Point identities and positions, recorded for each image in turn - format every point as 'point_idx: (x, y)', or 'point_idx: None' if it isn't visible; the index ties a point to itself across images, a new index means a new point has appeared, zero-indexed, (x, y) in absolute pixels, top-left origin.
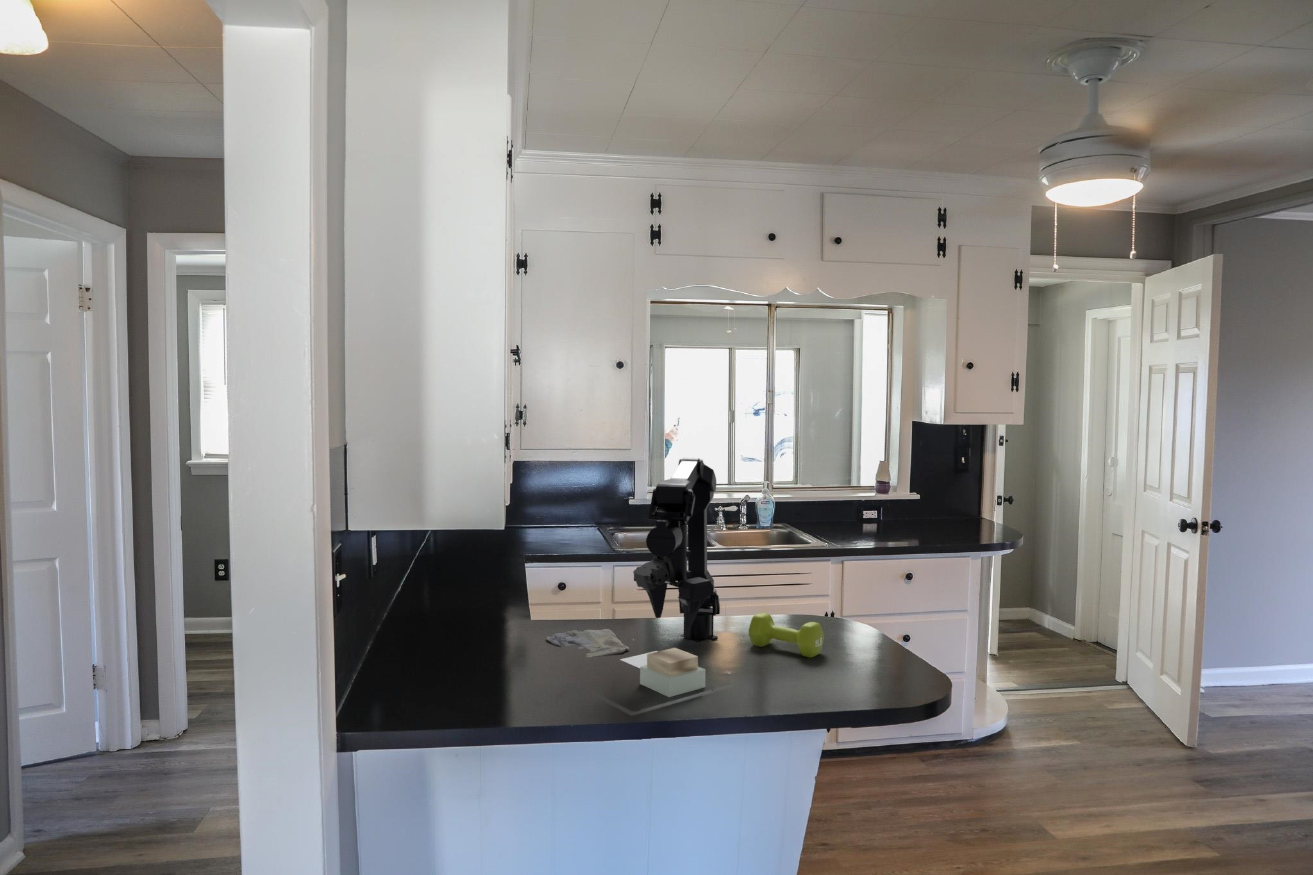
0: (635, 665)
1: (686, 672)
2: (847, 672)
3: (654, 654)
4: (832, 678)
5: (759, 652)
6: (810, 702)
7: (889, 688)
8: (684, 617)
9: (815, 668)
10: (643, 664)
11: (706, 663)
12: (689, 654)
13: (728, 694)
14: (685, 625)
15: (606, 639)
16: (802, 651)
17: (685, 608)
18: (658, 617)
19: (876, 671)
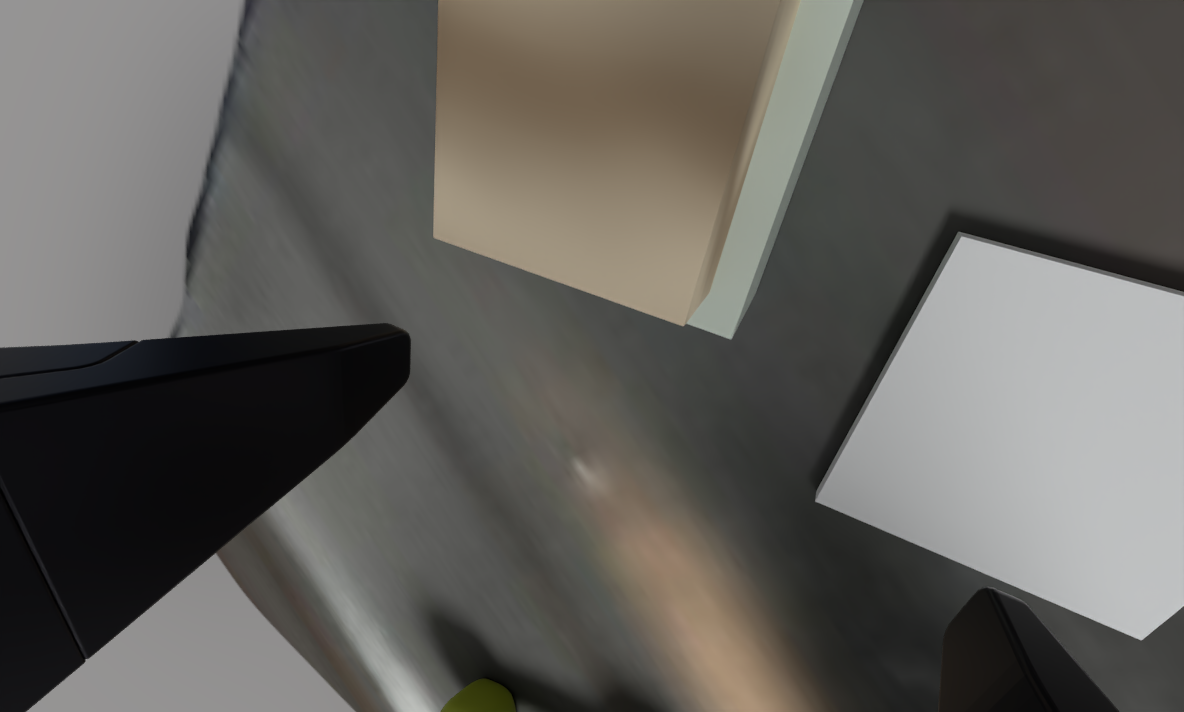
0: (1169, 307)
1: None
2: (357, 587)
3: (716, 9)
4: (347, 534)
5: (633, 705)
6: (250, 325)
7: None
8: (254, 349)
9: (421, 597)
10: (1099, 360)
11: (737, 547)
12: (495, 239)
13: (426, 230)
14: (360, 330)
15: None
16: (488, 694)
17: (14, 370)
18: (966, 604)
19: (328, 610)
